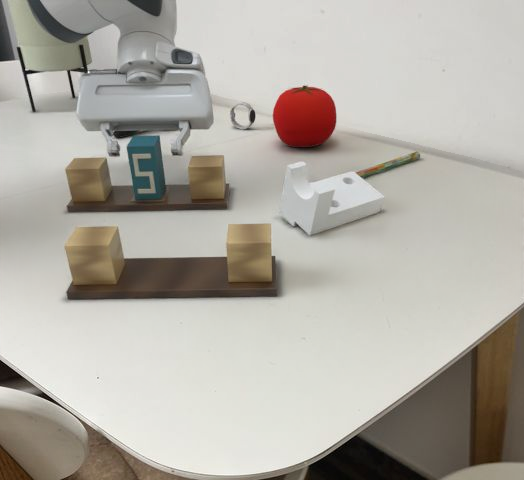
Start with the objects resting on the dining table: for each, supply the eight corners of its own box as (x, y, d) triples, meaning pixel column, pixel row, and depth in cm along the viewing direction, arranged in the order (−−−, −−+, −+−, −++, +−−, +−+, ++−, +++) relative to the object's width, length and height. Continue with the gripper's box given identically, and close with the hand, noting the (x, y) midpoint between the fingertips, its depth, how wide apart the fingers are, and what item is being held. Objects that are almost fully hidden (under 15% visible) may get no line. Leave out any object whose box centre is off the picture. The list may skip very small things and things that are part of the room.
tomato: (317, 132, 115) (319, 76, 109) (346, 149, 106) (350, 89, 100) (263, 140, 111) (261, 83, 105) (287, 158, 103) (288, 96, 96)
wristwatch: (250, 131, 117) (249, 105, 114) (229, 128, 118) (227, 103, 116) (256, 127, 119) (256, 102, 116) (235, 125, 121) (234, 100, 118)
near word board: (67, 299, 65) (55, 252, 62) (85, 265, 72) (75, 221, 68) (276, 296, 65) (276, 248, 61) (275, 262, 71) (275, 217, 68)
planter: (104, 96, 144) (85, -12, 130) (93, 113, 131) (71, -4, 117) (43, 98, 143) (18, -9, 129) (26, 115, 130) (-4, -2, 116)
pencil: (348, 183, 92) (420, 158, 101) (349, 177, 91) (421, 152, 100) (342, 181, 93) (414, 157, 101) (343, 175, 92) (415, 150, 101)
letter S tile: (134, 200, 86) (126, 146, 81) (140, 187, 90) (132, 135, 85) (161, 200, 86) (154, 146, 81) (166, 187, 90) (159, 135, 85)
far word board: (68, 212, 85) (58, 172, 82) (81, 192, 92) (73, 154, 88) (227, 209, 85) (224, 169, 81) (230, 189, 91) (227, 151, 88)
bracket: (308, 241, 78) (319, 194, 72) (278, 212, 82) (287, 165, 76) (377, 217, 84) (392, 171, 78) (347, 191, 87) (359, 146, 82)
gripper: (71, 56, 84) (68, 145, 82) (210, 54, 83) (210, 142, 81) (85, 82, 90) (82, 165, 88) (215, 80, 89) (214, 163, 87)
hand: (145, 154), depth 84 cm, fingers open, 8 cm apart
